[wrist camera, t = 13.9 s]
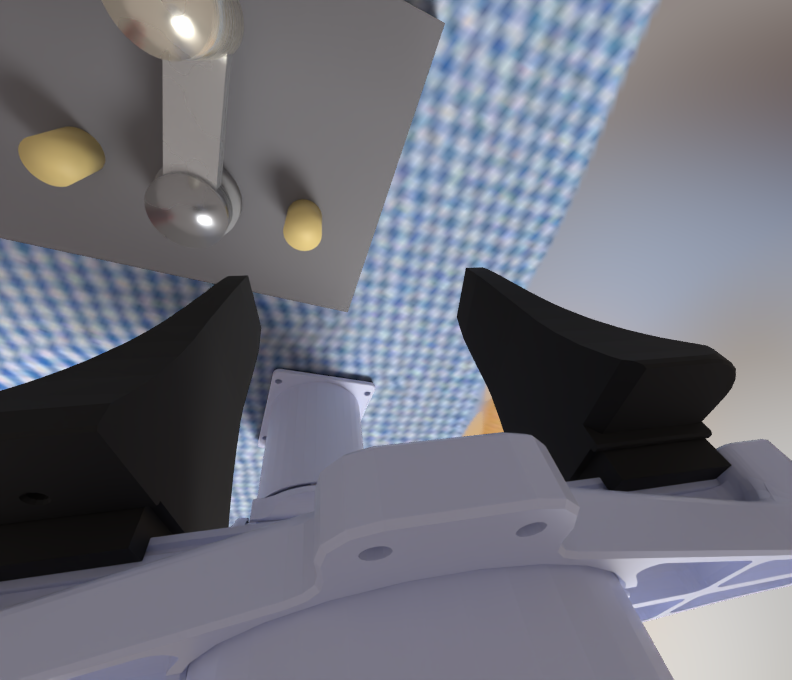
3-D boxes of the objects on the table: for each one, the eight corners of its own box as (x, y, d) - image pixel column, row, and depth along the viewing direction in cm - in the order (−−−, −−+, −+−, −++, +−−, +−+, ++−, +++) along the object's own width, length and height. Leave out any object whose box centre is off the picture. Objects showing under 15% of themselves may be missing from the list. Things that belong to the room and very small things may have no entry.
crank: (229, 245, 18) (204, 293, 14) (156, 226, 17) (109, 273, 13) (257, -11, 12) (228, -39, 9) (151, -65, 11) (68, -122, 8)
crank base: (346, 303, 24) (349, 333, 21) (-28, 220, 17) (-89, 249, 15) (439, 24, 15) (461, 18, 13) (-215, -333, 9) (-428, -486, 6)
